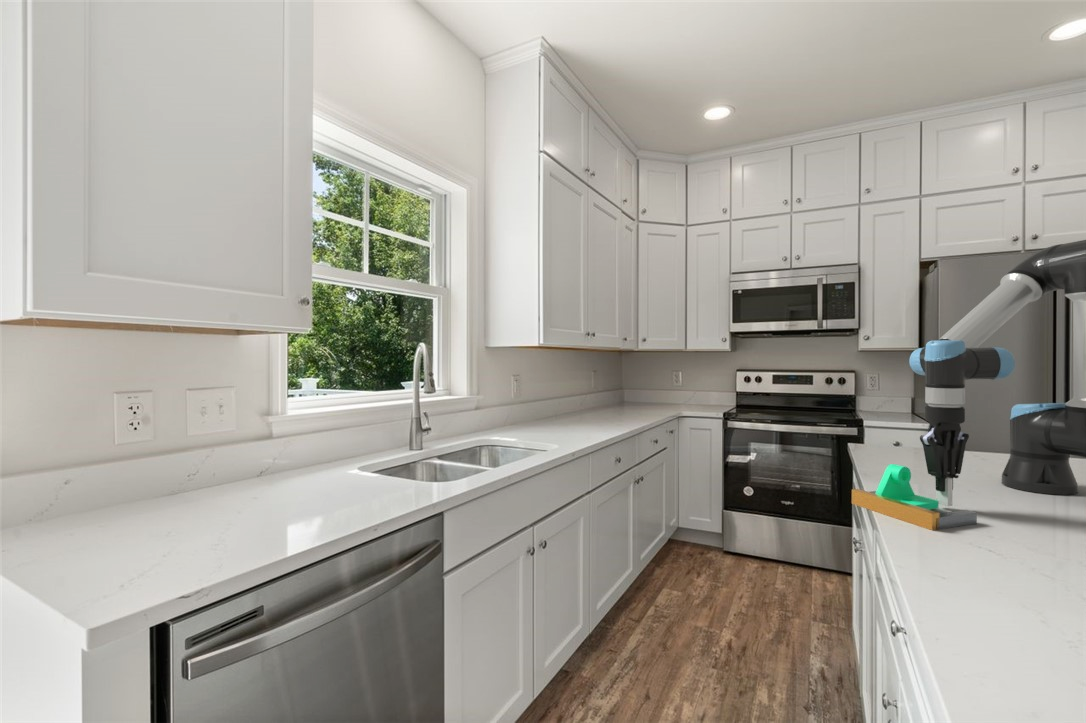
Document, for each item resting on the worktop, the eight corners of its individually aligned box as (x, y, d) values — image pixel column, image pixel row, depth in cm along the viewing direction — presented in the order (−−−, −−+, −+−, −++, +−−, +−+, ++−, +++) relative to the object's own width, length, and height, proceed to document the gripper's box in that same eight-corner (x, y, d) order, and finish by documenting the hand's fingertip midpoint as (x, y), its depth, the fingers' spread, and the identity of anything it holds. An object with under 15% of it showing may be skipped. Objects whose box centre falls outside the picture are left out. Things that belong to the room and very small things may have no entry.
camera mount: (904, 518, 120) (905, 473, 120) (873, 508, 127) (873, 466, 127) (940, 512, 124) (941, 468, 124) (908, 503, 131) (908, 462, 131)
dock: (892, 499, 134) (892, 485, 134) (976, 523, 115) (976, 507, 115) (851, 503, 131) (851, 489, 131) (932, 530, 112) (932, 513, 111)
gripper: (948, 402, 131) (948, 497, 131) (908, 405, 127) (908, 502, 127) (981, 405, 123) (981, 506, 124) (940, 408, 120) (940, 512, 120)
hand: (944, 504), depth 126 cm, fingers closed
